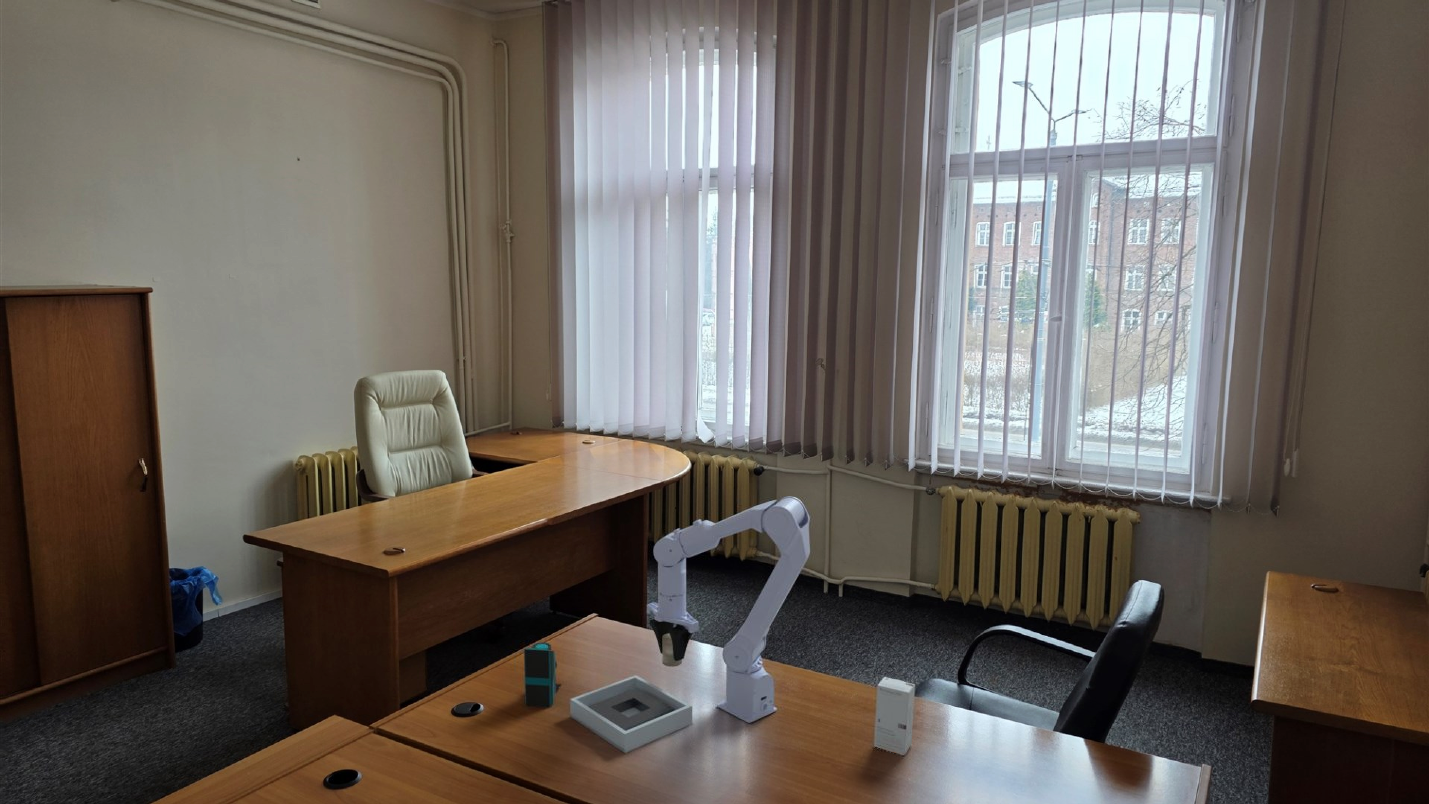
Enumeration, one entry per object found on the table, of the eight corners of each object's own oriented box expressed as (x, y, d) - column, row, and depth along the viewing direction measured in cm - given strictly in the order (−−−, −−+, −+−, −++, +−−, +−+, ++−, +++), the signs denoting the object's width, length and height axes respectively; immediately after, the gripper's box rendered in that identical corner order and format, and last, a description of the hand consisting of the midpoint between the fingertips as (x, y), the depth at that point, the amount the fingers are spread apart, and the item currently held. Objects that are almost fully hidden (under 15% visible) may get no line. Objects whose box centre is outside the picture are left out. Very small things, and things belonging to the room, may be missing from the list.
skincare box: (873, 748, 152) (874, 685, 151) (880, 737, 156) (882, 675, 155) (906, 757, 149) (908, 693, 148) (913, 746, 153) (915, 683, 152)
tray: (692, 723, 161) (692, 706, 160) (624, 753, 150) (624, 734, 150) (636, 691, 174) (635, 675, 174) (570, 716, 163) (570, 699, 163)
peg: (685, 662, 172) (685, 637, 171) (670, 668, 169) (670, 642, 169) (673, 656, 175) (673, 631, 174) (658, 662, 172) (658, 636, 172)
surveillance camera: (565, 631, 175) (550, 650, 165) (566, 685, 177) (551, 708, 167) (539, 629, 176) (522, 649, 166) (540, 684, 177) (524, 706, 168)
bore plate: (674, 718, 162) (674, 708, 161) (624, 739, 154) (623, 729, 153) (637, 696, 170) (636, 687, 170) (587, 715, 162) (587, 706, 162)
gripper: (635, 587, 173) (635, 650, 175) (679, 606, 162) (679, 672, 164) (661, 580, 178) (661, 641, 179) (706, 597, 167) (706, 662, 169)
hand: (672, 655), depth 172 cm, fingers closed on peg, 4 cm apart
